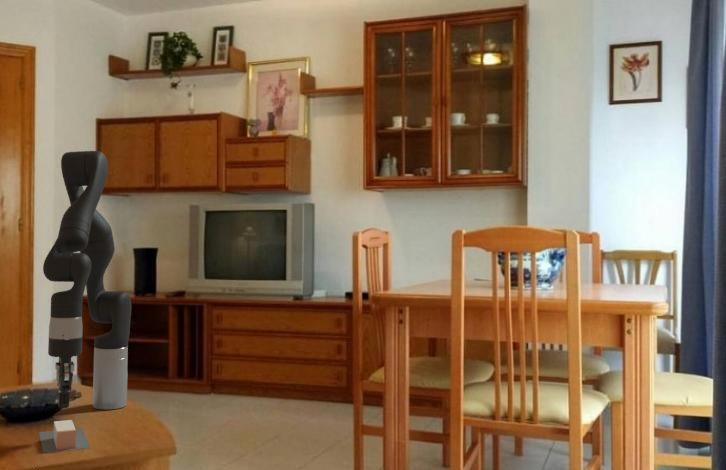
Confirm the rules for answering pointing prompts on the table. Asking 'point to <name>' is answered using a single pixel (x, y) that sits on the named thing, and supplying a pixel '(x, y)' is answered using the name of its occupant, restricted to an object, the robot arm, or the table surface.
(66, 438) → the cream block
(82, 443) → the slate mat
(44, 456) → the table surface
